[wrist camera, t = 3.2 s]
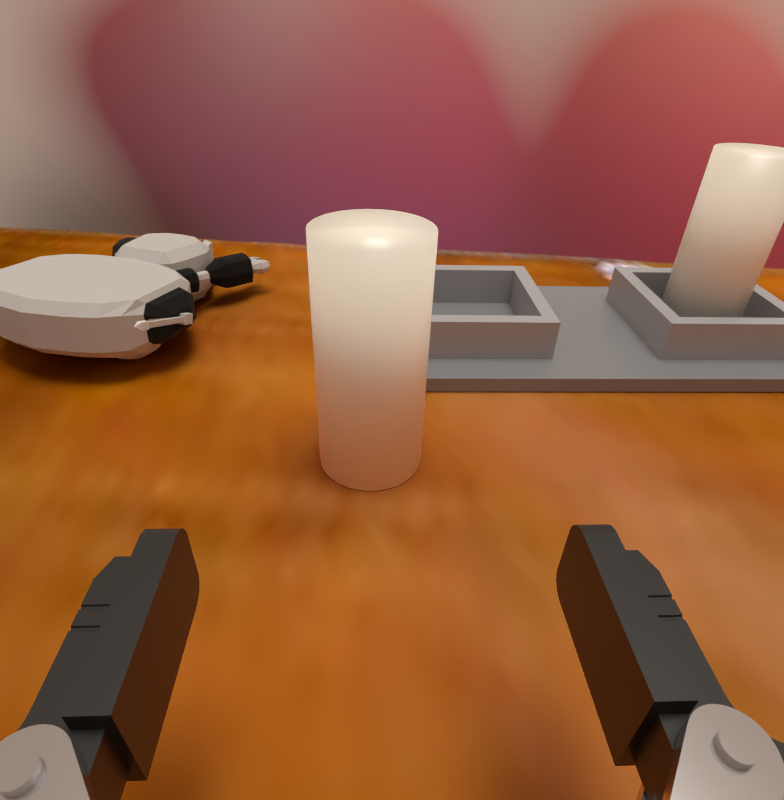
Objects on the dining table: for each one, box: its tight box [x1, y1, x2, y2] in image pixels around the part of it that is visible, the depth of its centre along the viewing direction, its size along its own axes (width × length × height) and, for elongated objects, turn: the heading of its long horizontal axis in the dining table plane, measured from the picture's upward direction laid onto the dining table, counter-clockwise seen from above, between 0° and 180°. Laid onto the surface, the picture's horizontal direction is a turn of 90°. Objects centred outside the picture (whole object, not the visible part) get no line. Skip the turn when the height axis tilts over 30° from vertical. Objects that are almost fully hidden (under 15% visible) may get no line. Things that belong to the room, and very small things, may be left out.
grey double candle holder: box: [426, 143, 784, 392], centre depth 30 cm, size 22×12×11 cm, turn 92°
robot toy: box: [0, 233, 270, 359], centre depth 33 cm, size 12×4×15 cm
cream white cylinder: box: [306, 209, 438, 491], centre depth 21 cm, size 4×4×10 cm
